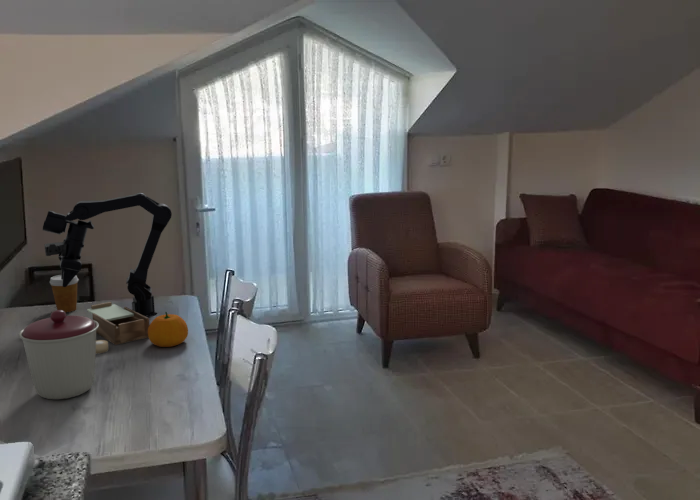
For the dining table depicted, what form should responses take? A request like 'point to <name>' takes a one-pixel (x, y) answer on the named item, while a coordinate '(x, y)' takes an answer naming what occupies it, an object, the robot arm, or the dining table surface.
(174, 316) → the fruit
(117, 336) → the walnut box
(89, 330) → the canister
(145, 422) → the dining table surface
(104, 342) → the tape roll
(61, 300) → the disposable coffee cup
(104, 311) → the lid
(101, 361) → the dining table surface
